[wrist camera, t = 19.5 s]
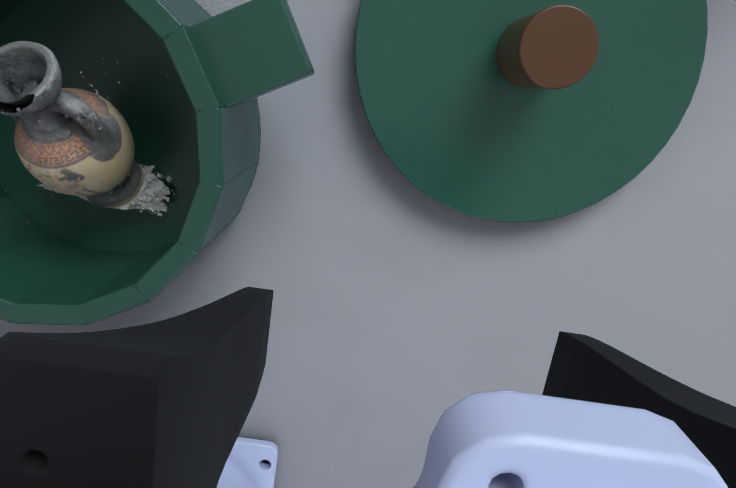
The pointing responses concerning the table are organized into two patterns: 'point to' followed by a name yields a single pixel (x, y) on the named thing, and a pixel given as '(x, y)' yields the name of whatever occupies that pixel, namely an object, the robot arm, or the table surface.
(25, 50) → the vase
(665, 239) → the table surface
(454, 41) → the pot lid
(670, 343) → the table surface
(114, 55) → the pot
